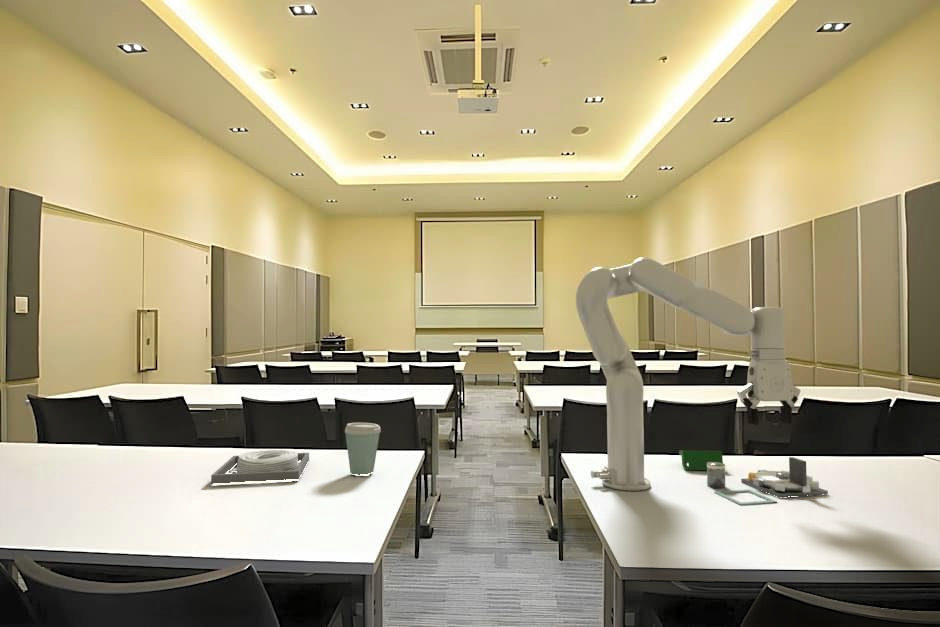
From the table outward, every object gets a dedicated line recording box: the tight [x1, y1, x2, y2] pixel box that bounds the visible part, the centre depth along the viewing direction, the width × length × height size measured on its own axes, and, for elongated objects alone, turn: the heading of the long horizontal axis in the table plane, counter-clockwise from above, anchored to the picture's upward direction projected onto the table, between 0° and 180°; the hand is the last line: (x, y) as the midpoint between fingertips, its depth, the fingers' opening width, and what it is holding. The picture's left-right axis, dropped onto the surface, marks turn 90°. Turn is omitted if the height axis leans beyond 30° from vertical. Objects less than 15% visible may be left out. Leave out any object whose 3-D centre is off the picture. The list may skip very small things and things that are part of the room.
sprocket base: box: [741, 477, 829, 498], centre depth 142 cm, size 14×14×1 cm
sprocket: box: [747, 456, 820, 492], centre depth 142 cm, size 16×16×8 cm
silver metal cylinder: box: [706, 462, 726, 490], centre depth 144 cm, size 4×4×6 cm
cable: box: [232, 449, 300, 473], centre depth 160 cm, size 18×18×6 cm
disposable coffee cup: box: [344, 422, 382, 475], centre depth 158 cm, size 11×11×15 cm
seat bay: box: [714, 489, 778, 506], centre depth 134 cm, size 10×10×1 cm
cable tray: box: [210, 452, 310, 485], centre depth 159 cm, size 23×23×3 cm
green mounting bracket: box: [678, 449, 724, 471], centre depth 163 cm, size 12×6×9 cm, turn 75°
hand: (769, 423), depth 136 cm, fingers open, 9 cm apart
